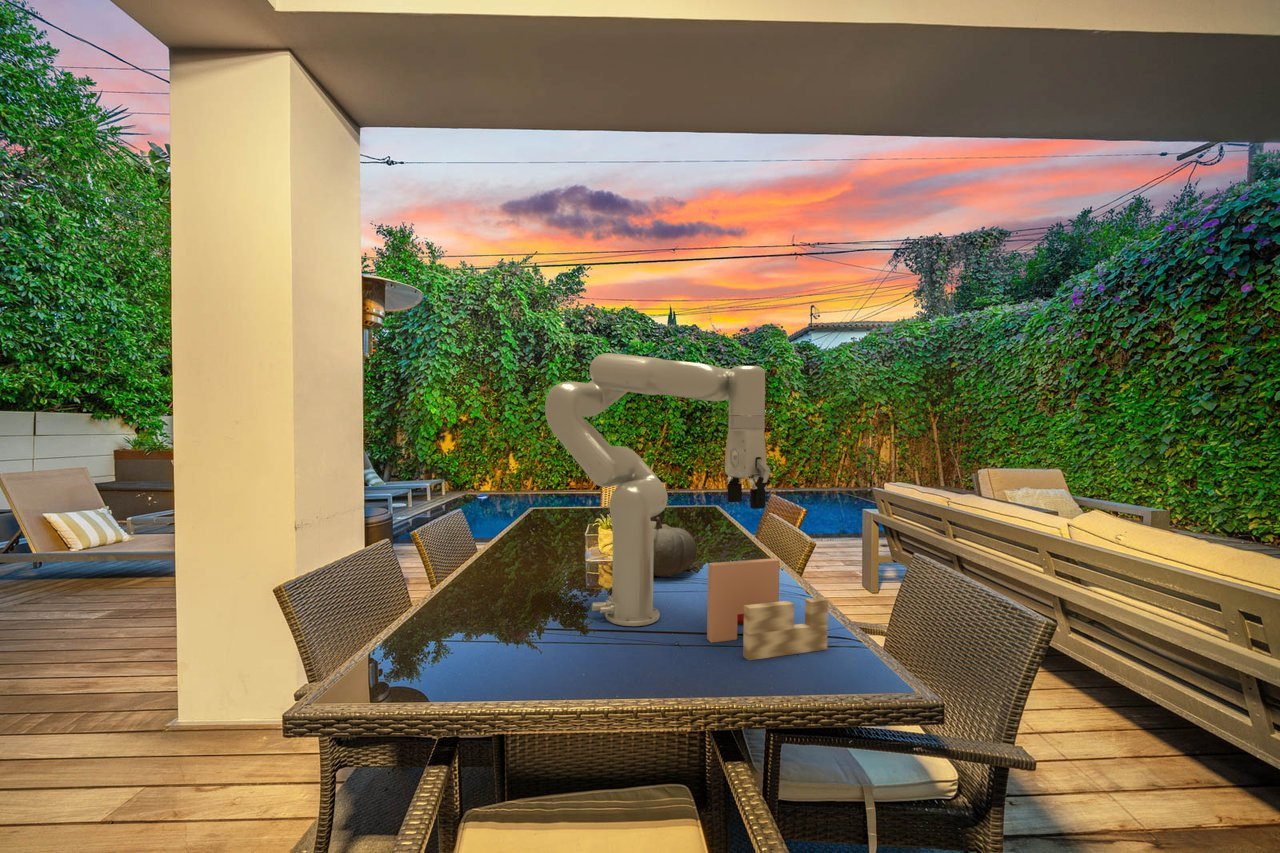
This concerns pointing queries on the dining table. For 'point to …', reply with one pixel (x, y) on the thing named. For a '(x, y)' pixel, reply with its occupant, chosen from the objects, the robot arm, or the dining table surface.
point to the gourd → (672, 549)
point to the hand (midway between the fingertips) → (745, 505)
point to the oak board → (784, 629)
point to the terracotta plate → (738, 593)
